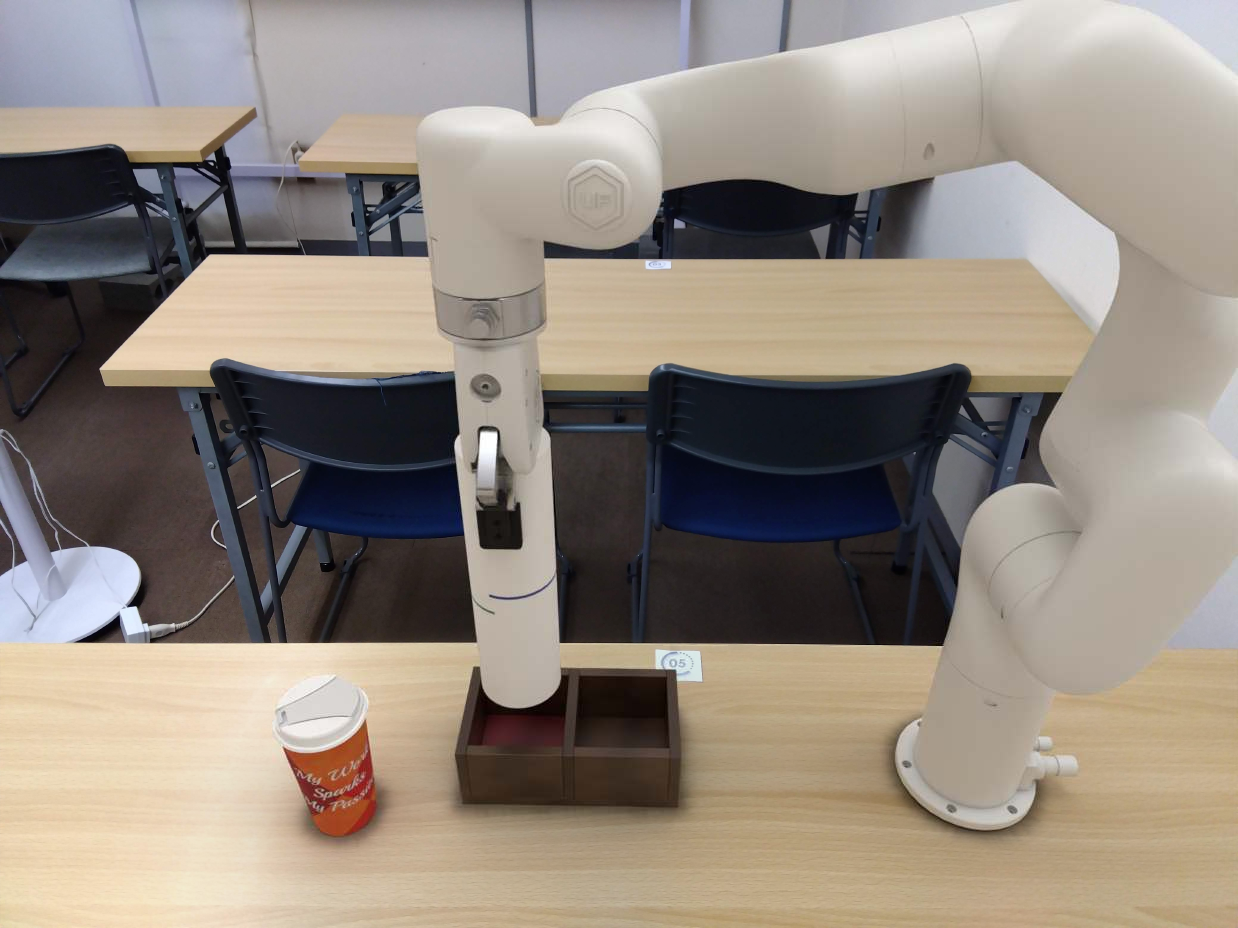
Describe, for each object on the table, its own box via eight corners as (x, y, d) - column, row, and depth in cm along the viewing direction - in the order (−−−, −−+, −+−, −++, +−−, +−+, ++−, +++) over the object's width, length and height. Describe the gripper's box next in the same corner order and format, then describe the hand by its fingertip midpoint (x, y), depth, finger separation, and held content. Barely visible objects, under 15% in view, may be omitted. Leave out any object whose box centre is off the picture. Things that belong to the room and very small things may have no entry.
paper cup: (310, 861, 74) (277, 755, 67) (295, 793, 80) (262, 688, 72) (399, 824, 77) (377, 719, 70) (378, 761, 83) (355, 658, 75)
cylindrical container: (549, 713, 74) (535, 473, 60) (470, 700, 75) (439, 461, 62) (569, 655, 80) (561, 423, 66) (496, 643, 81) (473, 414, 67)
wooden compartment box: (673, 717, 88) (676, 668, 84) (677, 807, 79) (681, 757, 75) (479, 714, 88) (473, 665, 84) (461, 803, 79) (454, 753, 75)
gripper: (533, 362, 51) (546, 589, 60) (556, 261, 65) (563, 457, 75) (407, 360, 51) (439, 588, 60) (458, 261, 65) (477, 456, 75)
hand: (508, 514), depth 68 cm, fingers closed on cylindrical container, 7 cm apart
